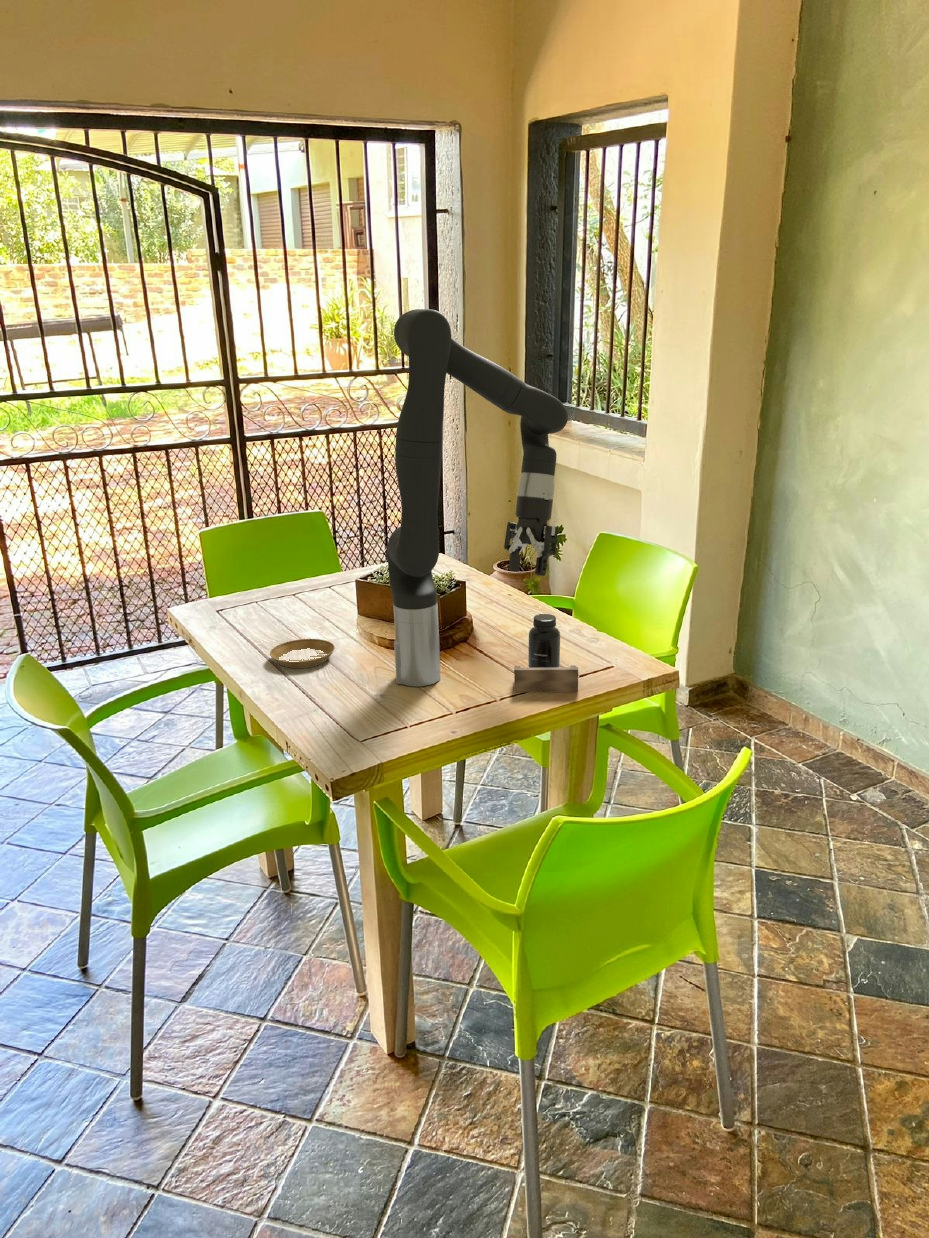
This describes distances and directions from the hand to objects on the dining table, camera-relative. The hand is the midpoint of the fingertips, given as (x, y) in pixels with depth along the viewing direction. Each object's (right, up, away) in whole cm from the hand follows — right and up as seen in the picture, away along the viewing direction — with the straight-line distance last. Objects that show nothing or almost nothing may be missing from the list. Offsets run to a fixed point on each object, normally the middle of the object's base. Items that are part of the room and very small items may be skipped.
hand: (526, 573), depth 189 cm
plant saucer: (-50, -19, +17) cm, 56 cm away
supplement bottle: (+4, -21, +7) cm, 22 cm away
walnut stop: (+4, -24, -1) cm, 24 cm away
